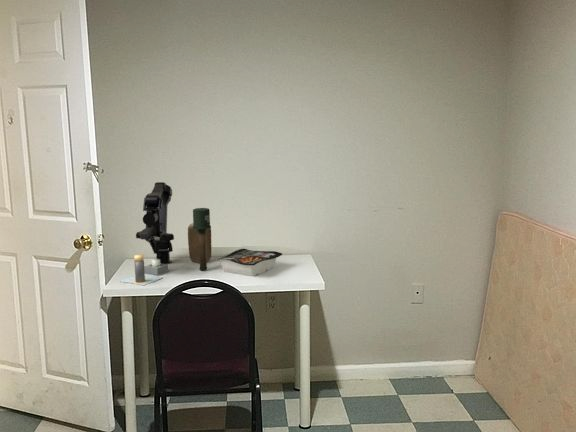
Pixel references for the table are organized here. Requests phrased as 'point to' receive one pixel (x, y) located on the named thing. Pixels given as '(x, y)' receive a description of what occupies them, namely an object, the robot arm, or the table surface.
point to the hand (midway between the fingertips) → (155, 253)
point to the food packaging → (249, 261)
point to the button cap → (155, 262)
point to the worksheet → (147, 280)
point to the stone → (198, 244)
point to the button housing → (156, 269)
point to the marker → (139, 268)
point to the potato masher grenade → (202, 232)
